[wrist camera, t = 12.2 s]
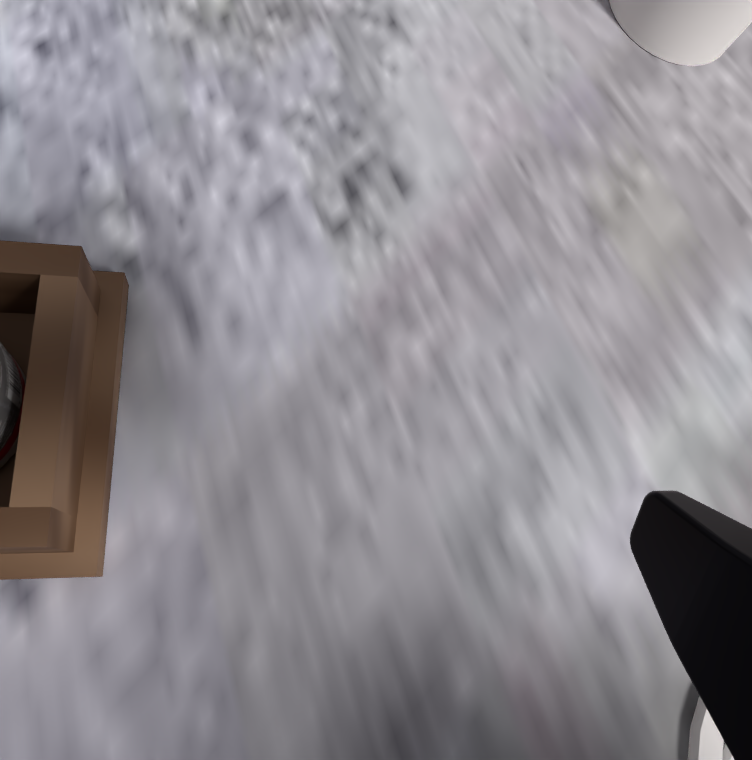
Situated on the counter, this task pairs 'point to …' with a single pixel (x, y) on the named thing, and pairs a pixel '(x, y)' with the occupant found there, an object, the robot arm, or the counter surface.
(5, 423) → the pill bottle
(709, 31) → the cylindrical container
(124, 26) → the counter surface
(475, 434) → the counter surface
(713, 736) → the pendant
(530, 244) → the counter surface
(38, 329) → the socket block
